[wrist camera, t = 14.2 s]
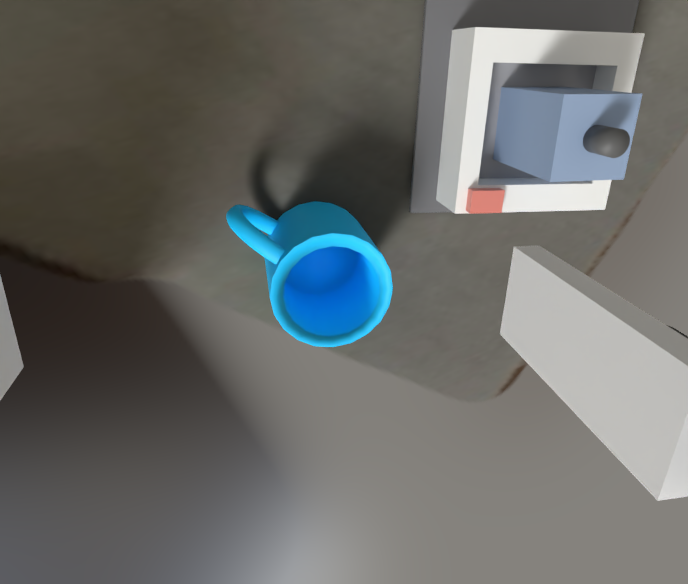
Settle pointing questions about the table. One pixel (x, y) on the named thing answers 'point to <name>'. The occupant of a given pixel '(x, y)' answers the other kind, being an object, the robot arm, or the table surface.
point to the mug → (318, 271)
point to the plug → (566, 132)
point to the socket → (508, 71)
